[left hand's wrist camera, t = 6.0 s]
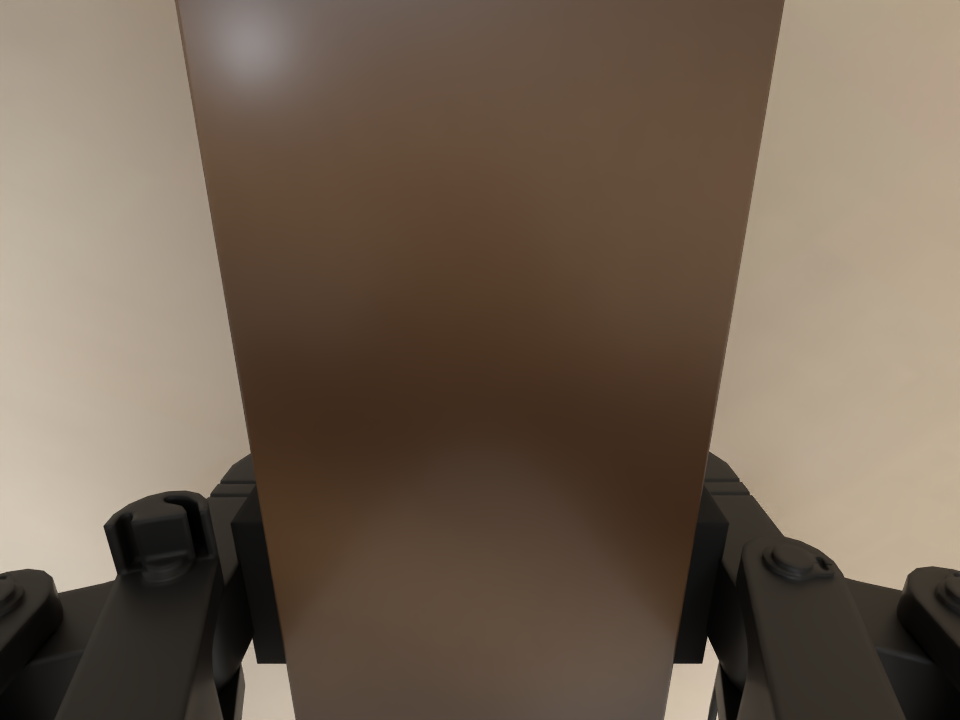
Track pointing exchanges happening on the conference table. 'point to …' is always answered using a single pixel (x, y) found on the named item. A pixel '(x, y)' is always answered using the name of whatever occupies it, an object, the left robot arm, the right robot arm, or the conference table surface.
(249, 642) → the left robot arm
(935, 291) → the conference table surface
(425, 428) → the bar
